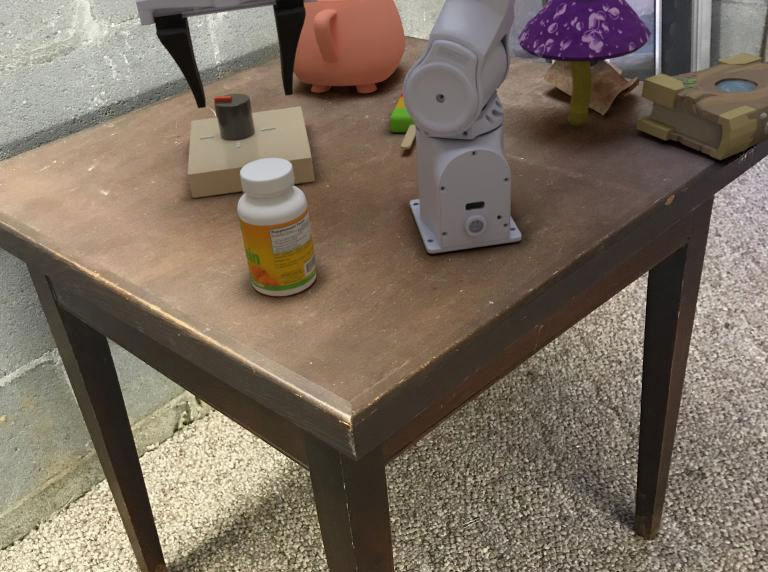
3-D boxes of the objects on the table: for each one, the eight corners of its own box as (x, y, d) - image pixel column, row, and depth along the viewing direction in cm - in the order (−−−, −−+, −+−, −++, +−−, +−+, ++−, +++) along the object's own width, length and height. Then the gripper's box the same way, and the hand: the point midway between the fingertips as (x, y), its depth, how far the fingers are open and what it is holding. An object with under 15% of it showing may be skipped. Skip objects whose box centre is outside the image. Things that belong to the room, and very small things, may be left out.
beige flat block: (315, 181, 86) (311, 155, 84) (192, 198, 85) (186, 172, 83) (304, 128, 97) (301, 104, 95) (196, 143, 96) (190, 119, 94)
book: (732, 92, 93) (743, 44, 90) (825, 124, 86) (841, 73, 83) (635, 128, 87) (643, 78, 84) (727, 166, 80) (739, 113, 77)
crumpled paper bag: (638, 76, 89) (660, 97, 95) (556, 17, 94) (582, 42, 100) (601, 123, 91) (625, 141, 97) (523, 63, 96) (551, 84, 102)
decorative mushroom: (491, 132, 91) (491, -24, 81) (564, 94, 97) (572, -54, 88) (592, 161, 83) (605, -7, 74) (664, 118, 90) (685, -41, 80)
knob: (259, 126, 91) (253, 89, 89) (249, 140, 89) (243, 103, 86) (226, 126, 92) (219, 90, 90) (216, 140, 89) (208, 103, 87)
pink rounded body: (423, 51, 113) (418, -52, 106) (383, 110, 99) (374, -5, 91) (326, 51, 117) (315, -49, 109) (273, 107, 102) (256, -3, 95)
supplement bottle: (243, 275, 73) (220, 164, 67) (303, 257, 74) (286, 147, 68) (264, 305, 69) (243, 190, 63) (327, 285, 70) (312, 172, 64)
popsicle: (453, 101, 99) (452, 84, 98) (432, 157, 88) (431, 138, 87) (405, 101, 100) (404, 84, 99) (378, 156, 89) (377, 138, 88)
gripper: (118, -52, 65) (161, 126, 74) (310, -78, 66) (331, 100, 74) (124, -70, 71) (164, 97, 79) (301, -93, 72) (322, 74, 80)
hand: (245, 97), depth 77 cm, fingers open, 7 cm apart
